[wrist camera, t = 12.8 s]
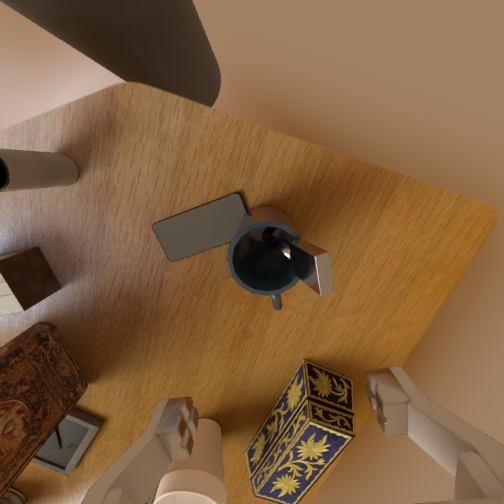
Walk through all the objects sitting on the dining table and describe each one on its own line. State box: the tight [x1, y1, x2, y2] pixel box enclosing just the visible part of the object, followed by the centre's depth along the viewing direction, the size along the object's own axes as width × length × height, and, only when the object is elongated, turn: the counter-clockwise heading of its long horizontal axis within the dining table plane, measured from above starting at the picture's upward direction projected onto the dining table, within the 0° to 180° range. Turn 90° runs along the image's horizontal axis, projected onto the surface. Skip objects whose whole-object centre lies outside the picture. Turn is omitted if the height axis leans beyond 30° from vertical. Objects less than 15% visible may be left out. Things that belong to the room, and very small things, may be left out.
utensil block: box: [0, 247, 61, 316], centre depth 38 cm, size 8×8×7 cm
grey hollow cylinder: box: [0, 149, 78, 192], centre depth 30 cm, size 4×4×10 cm
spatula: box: [262, 232, 334, 296], centre depth 29 cm, size 4×1×17 cm, turn 13°
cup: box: [153, 418, 227, 504], centre depth 46 cm, size 12×12×14 cm
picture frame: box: [31, 408, 103, 476], centre depth 54 cm, size 16×2×21 cm
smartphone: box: [152, 192, 247, 262], centre depth 37 cm, size 7×1×15 cm
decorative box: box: [245, 359, 355, 504], centre depth 46 cm, size 11×30×9 cm, turn 157°
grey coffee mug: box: [227, 206, 302, 310], centre depth 33 cm, size 13×9×11 cm
